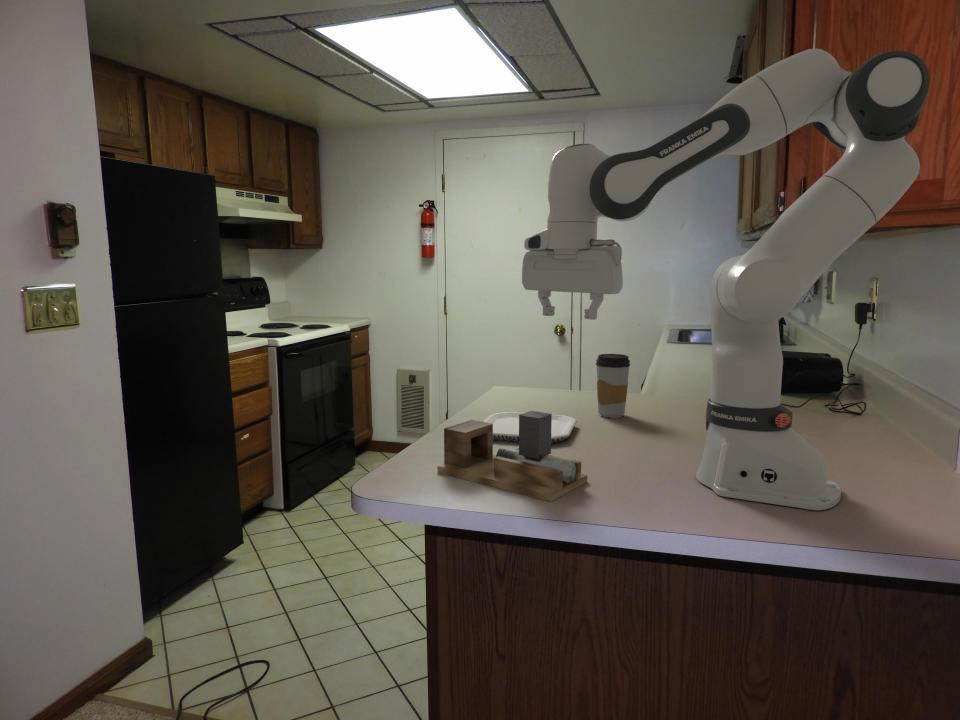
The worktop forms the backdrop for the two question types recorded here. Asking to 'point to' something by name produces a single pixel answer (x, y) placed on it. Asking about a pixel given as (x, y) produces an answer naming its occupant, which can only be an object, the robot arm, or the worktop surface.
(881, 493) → the worktop surface
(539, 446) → the grey mallet
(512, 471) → the cradle
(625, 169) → the robot arm
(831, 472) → the worktop surface
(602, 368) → the coffee cup
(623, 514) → the worktop surface
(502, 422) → the plate
